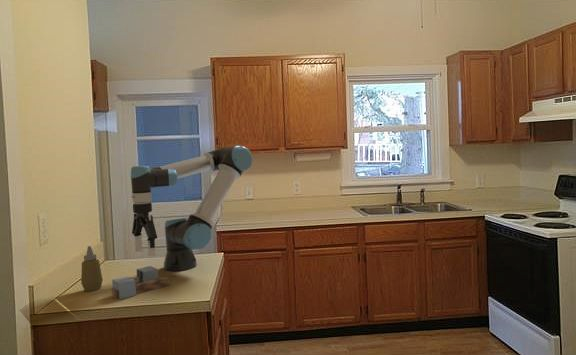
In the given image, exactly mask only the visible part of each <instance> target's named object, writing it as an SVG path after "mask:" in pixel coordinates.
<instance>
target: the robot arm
mask: <svg viewBox="0 0 576 355" xmlns="http://www.w3.org/2000/svg"><path fill="white" fill-rule="evenodd" d="M251 166H253V156H252V153H251V151H250V149H248V148H247V147H245V146H243V145H235V146H224V147H221V148H217V149H214V150H211V151H209V152H204V154H203V155H201V156H197V157H193V158H189V159H185V160H180V161H177V162H173V163H169V164H166V165H161V166H157V167H154V168H153V167H152V168H150V166H149V165H133V166H132V167H131V168H130V181H131V197H130V198H131V199H132V203H133V204H132V211H133V212H132V213H133V222H132V230H131V234H132V235H133V236H134V246H135V247H134V251H135V252H137V253H139V252H143V241H142V236H143V235H142V230H143V228H144V230H145V231H144V232H145V233H146V236H147V239H146V241H147V252H148V253H147V255H148V257H153V256H156V255H157V254H156V244H155V243H156V239H158V234H157V231H156V226H155V223H154V217H153V215H152V214H151V215H149V213H151V212H153V206H152V205H153V204H152V201H153V200H152V188H153V189H154V188H166V187H173V186H176V185H177V183H178V179H180V178H187V177H189V176H193V175H196V174H199V173H204V172H211V173H212V172H216V171H218V172H217V173H216V176H215V178H213V181H212V182H211V184H210V186H209V187H208V190H207V192H206V193H205V195H204V196H203V198H202V200H201V202H200V203H199V205H198V207H197V208H196V211H195V212H194V213H191V214H189V216H188V217H180V218H173V219H168V220H166V221H165V223H164V232H165V234H164V235H165V245H166V254H165V257H164V260H163V261H164V262H163V269H164V270H165V271H172V272H173V271H176V272H178V271H184V270H189V269H192V268H195V267H197V265H198V264H197V262H198V261H197V259H196V255H195V254H194V251H193V250H202V249H204V248H205V247H207V246H208V245H209V244H210V242H211V240H212V235H213V234H212V229H213V220H214V218H215V216H216V215H217V213H218V211H219V209H220V207H221V205H222V204H223V202H224V200H225V199H226V196H227V194H228V193H229V192H230V191H229V190H230V189H231V188H232V185H233V184H234V182H235V180H237V179H240V177H241V176H242V174H243V172H244V171H248V170H249V169H250V168H251Z"/></svg>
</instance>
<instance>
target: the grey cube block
mask: <svg viewBox="0 0 576 355" xmlns="http://www.w3.org/2000/svg"><path fill="white" fill-rule="evenodd" d="M158 270H159V269H158V268H157V267H153V266H152V265H150V266H144V267H139V268H136V278H137V283H141V282H145V281H150V280H154V279H158V278H159V271H158Z"/></svg>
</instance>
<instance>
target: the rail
mask: <svg viewBox="0 0 576 355" xmlns="http://www.w3.org/2000/svg"><path fill="white" fill-rule="evenodd" d="M170 279H171V278H170V277H168V276H162V277H158V279H154V280H150V281H145V282H143V281H142V282H137V283H136V286H135V287H136V295H137V294H139V293H144V292H149V291H153V290H156V289H160V288H165V287H169V286H170V285H171V280H170ZM111 291H112V292H111V293H112V298H113V299H116V300H117V299H119V291H118V290H117V289H113V288H112V289H111Z"/></svg>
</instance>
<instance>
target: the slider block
mask: <svg viewBox="0 0 576 355" xmlns="http://www.w3.org/2000/svg"><path fill="white" fill-rule="evenodd" d="M136 282H137V281H136V279H135V278H133V277H130V276H128V275H127V276H124V277H119V278H114V279H112V289H117V290H118V291H119V298H118V299H120V300H122V299H126V298H131V297H135V296H137V294H136V287H135V286H136V284H137V283H136Z"/></svg>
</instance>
